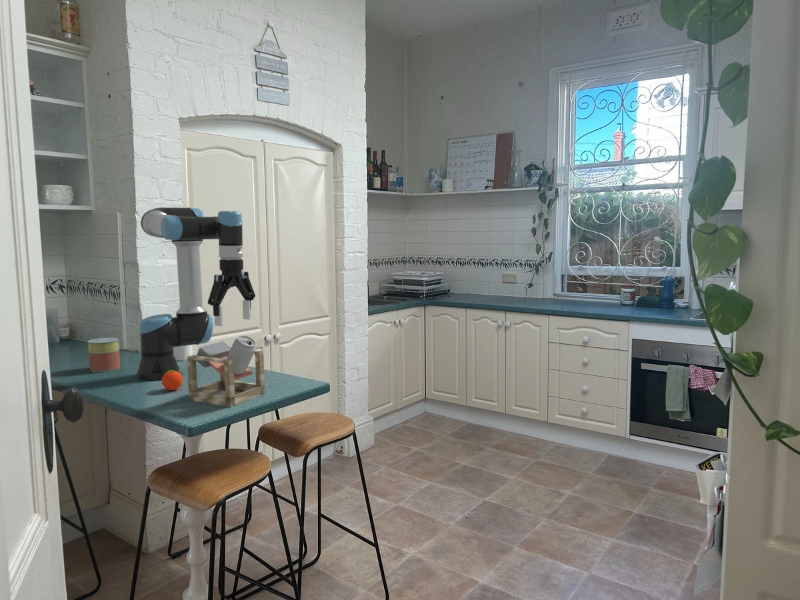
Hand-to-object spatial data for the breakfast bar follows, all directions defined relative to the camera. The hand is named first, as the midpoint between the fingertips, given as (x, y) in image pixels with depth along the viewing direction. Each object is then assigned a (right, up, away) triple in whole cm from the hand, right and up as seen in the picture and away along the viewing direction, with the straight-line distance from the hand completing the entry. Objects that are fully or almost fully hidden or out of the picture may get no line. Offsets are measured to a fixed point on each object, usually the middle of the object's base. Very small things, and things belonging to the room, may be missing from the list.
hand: (233, 322), depth 196 cm
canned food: (-64, -21, +44) cm, 81 cm away
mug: (-39, -18, +63) cm, 77 cm away
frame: (-3, -25, +5) cm, 26 cm away
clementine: (-25, -25, +14) cm, 38 cm away
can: (0, -16, +2) cm, 16 cm away
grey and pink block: (-5, -16, +4) cm, 17 cm away
